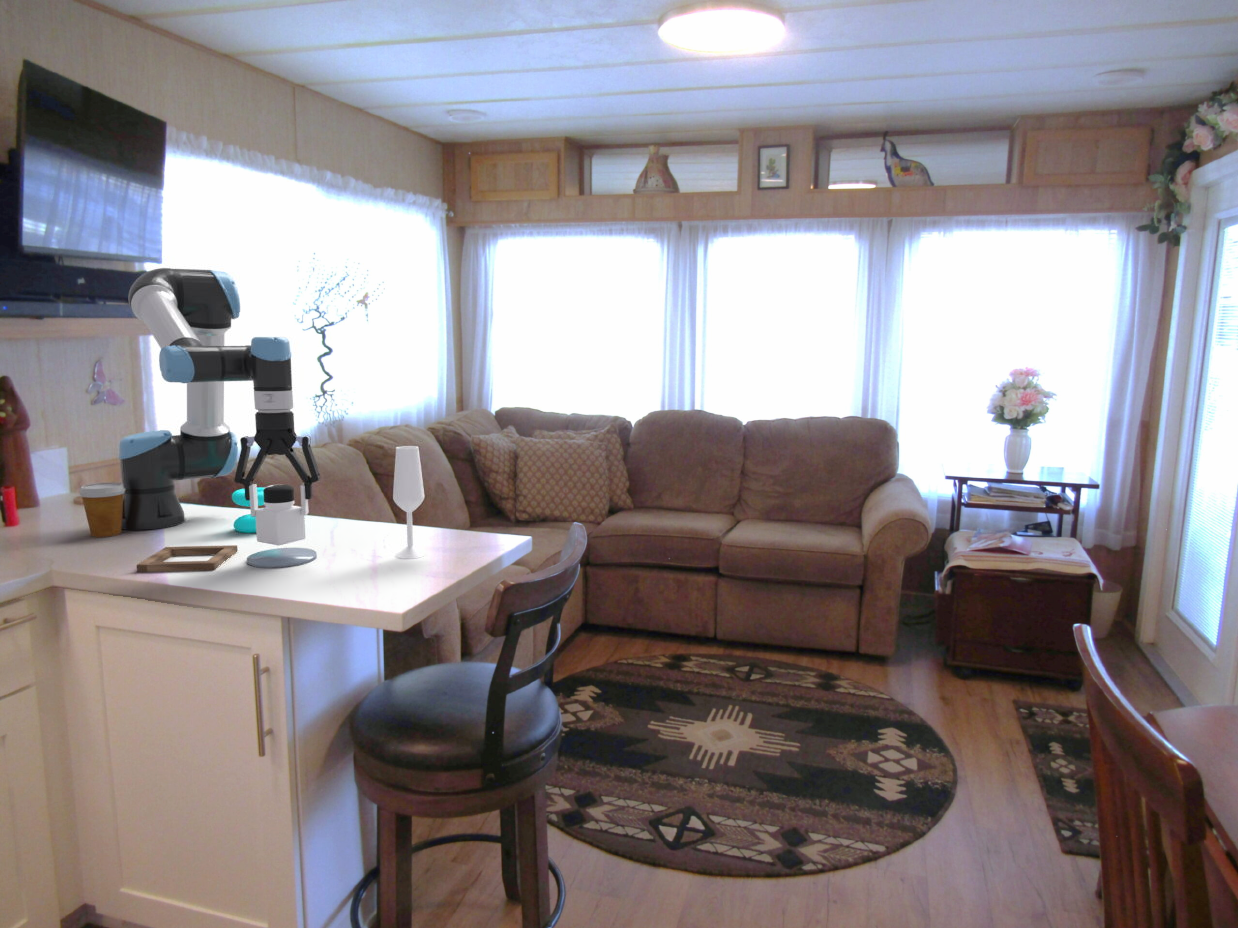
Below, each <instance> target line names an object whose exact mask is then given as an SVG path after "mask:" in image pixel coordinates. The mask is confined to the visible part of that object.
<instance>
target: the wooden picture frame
mask: <svg viewBox="0 0 1238 928" xmlns="http://www.w3.org/2000/svg"><path fill="white" fill-rule="evenodd" d="M237 551H238V545H237V544H231V545H230V544H229V545H200V546H199V545H193V546H192V545H191V546H190V545H189V546H165V547H164V548H162V549H160V550H158V551H157V552H155V553H153V554H152V555H151V556H149V557H147V558H146V559H144V560H142V561H141V562H139V563H138V564H136V566H135V567H136V572H137V573H155V572H157V573H158V572H189V571H190V572H191V571H192V572H195V571H200V572H201V571H215V570H216V568H217V567H218V566H219V565H220V566H221V564H222V563H223V562H224V561H225V562H227V561H228V560H229V559H230V558H232V557H233V556H234V555H235V554H237V553H238V552H237ZM236 552H237V553H236ZM199 554H216V555H213V556H211V557H210V558H209V559H208V560H187V561H186V560H185V561H182V560H181V561H166V560H169V559H170V558H171V557H172V556H175V557H176V556H200V555H199ZM232 555H233V556H232ZM231 556H232V557H231ZM228 558H229V559H228ZM227 559H228V560H227ZM226 560H227V561H226ZM225 562H224V563H225ZM224 563H223V564H224ZM223 564H222V565H223ZM220 566H219V567H220ZM219 567H218V568H219ZM218 568H217V569H218Z"/></svg>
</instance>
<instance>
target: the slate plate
mask: <svg viewBox="0 0 1238 928" xmlns="http://www.w3.org/2000/svg"><path fill="white" fill-rule="evenodd" d="M317 555H318V554H317V551H316V550H314V549H311V548H307V547H306V548H305V547H280V548H279V547H278V548H270V549H266V550H261V551H257V552H255V553H252V554H249V555H248V556H247V557H246V563H248V564H249V566H250V565H252V566H251V567H254V566H256V567H255V568H260V567H281V568H288V567H287V566H290V567H295V566H294V565H297V566H301V565H304V563H305V564H308V563H310V561H311V562H313V561H315V560H316V559H317ZM307 562H308V563H307ZM248 564H247V565H248ZM300 564H301V565H300Z"/></svg>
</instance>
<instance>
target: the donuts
mask: <svg viewBox="0 0 1238 928" xmlns="http://www.w3.org/2000/svg"><path fill="white" fill-rule="evenodd" d="M264 488H265V487H257V499H258V507H260V506H264V494H263V490H264ZM231 500H232V501H233V503H234V504H236V505H237V506H238V505H239V506H242V507H250V500H246V499H245V489H244V488H241V489H237V490H235V491H234V492H233V493H232V494H231ZM233 529H234V530H235V531H237V532H239V533H242V534H243V533H244V534H257V533H256V517H255V516H254V517H251V513H247V514H244V515H240V516H239V517H237V518H236V519H235V520H234V522H233Z"/></svg>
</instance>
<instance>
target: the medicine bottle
mask: <svg viewBox="0 0 1238 928" xmlns="http://www.w3.org/2000/svg"><path fill="white" fill-rule="evenodd" d="M263 488H264V490H263V494H264V505H263V506H264V507H260V508H259V507H258V509H256V510H255V517H256V533H255V534H256V541H257V543H258V542H259V543H261V544H262V543H263V544H269V545H273V546H283V545H287V544H290V543H295V542H298V541H299V542H300V541H303V540H305V539H306V523H305V515H303V516H302V507H301V506H298V505H294V504H295V489H294V487H293V486H292V485H289V484H272V485H268V486H265V487H263Z"/></svg>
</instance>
